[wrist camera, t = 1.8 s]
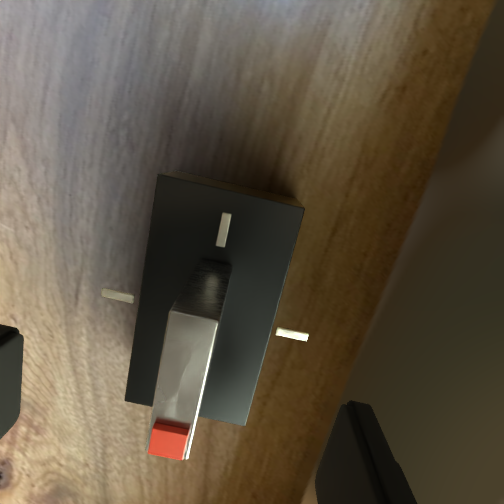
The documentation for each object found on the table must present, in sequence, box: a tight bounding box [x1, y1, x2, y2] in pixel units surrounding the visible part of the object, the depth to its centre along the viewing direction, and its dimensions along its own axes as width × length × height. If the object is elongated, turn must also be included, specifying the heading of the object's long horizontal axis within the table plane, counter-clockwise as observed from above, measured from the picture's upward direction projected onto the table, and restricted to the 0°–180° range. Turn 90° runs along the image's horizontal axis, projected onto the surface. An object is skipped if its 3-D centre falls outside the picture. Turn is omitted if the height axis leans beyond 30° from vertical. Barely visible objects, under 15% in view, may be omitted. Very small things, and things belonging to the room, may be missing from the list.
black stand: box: [101, 171, 309, 426], centre depth 16 cm, size 11×9×3 cm
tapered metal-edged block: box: [145, 259, 233, 460], centre depth 12 cm, size 5×1×5 cm, turn 167°
